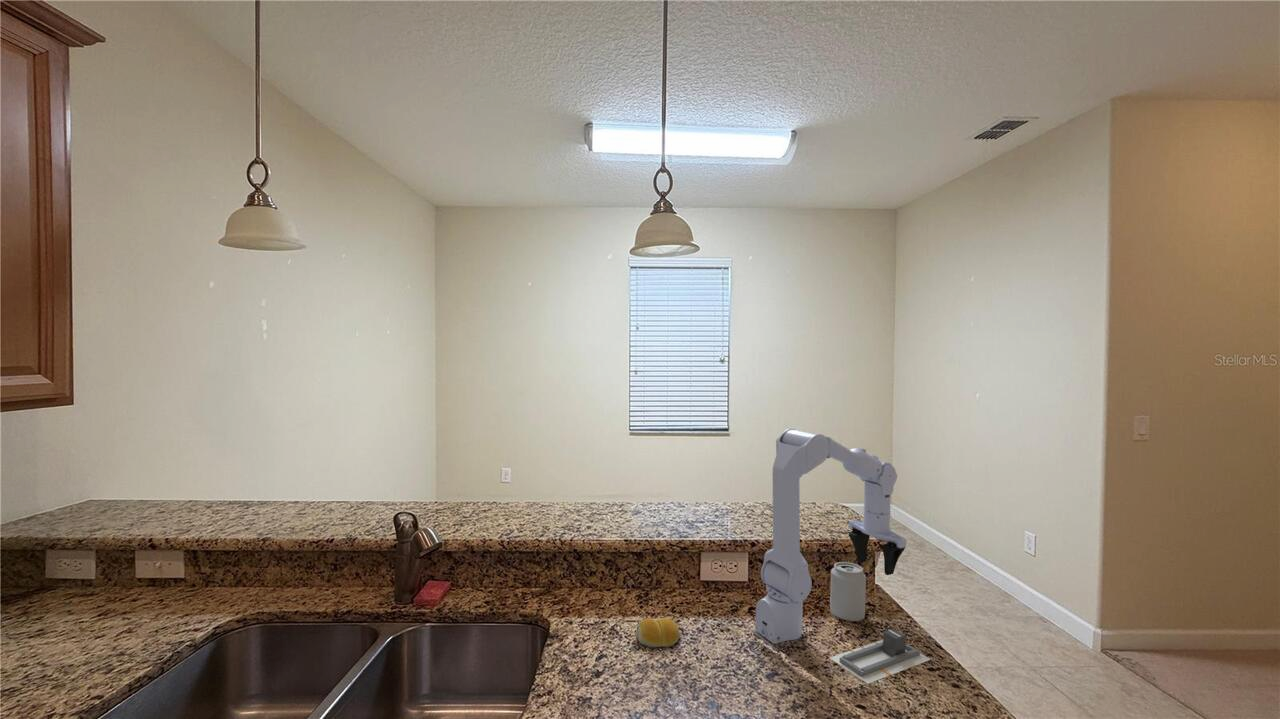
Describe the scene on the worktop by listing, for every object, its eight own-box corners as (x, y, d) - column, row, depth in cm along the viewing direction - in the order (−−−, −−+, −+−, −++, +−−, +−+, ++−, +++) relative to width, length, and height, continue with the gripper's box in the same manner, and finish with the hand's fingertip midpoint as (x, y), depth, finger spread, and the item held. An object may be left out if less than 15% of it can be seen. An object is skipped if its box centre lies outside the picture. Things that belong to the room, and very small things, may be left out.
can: (858, 611, 126) (860, 560, 126) (869, 627, 119) (870, 574, 118) (826, 609, 127) (827, 558, 127) (834, 625, 119) (836, 571, 119)
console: (867, 690, 96) (867, 678, 96) (829, 663, 104) (829, 652, 104) (931, 665, 104) (931, 654, 104) (890, 642, 112) (891, 632, 112)
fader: (895, 659, 104) (895, 638, 104) (882, 651, 107) (883, 631, 107) (905, 655, 106) (905, 634, 106) (892, 648, 108) (893, 628, 108)
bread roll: (683, 647, 109) (683, 628, 109) (640, 650, 108) (640, 631, 108) (674, 626, 117) (674, 608, 117) (634, 629, 116) (634, 611, 116)
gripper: (915, 517, 122) (914, 576, 122) (863, 501, 135) (861, 554, 135) (895, 521, 119) (893, 582, 119) (843, 504, 132) (841, 558, 132)
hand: (875, 567), depth 127 cm, fingers open, 7 cm apart
